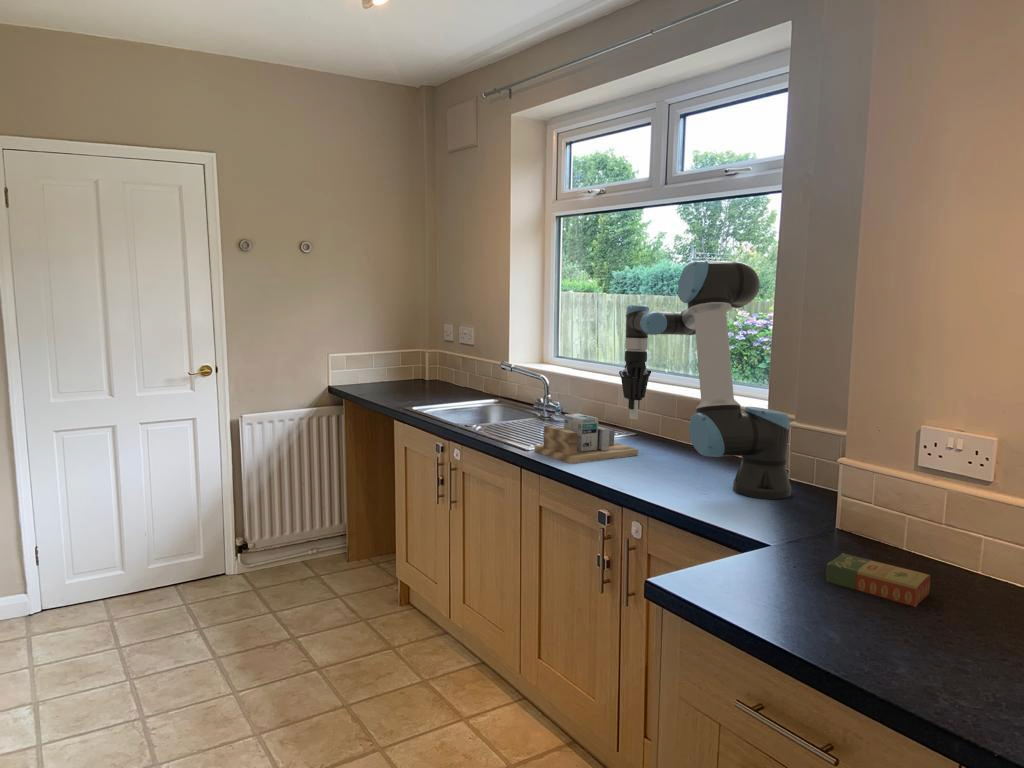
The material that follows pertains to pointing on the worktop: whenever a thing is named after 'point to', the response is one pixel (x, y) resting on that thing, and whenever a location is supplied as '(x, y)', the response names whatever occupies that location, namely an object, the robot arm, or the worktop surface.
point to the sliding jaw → (605, 438)
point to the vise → (565, 447)
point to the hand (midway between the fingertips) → (633, 418)
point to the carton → (879, 579)
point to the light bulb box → (583, 430)
